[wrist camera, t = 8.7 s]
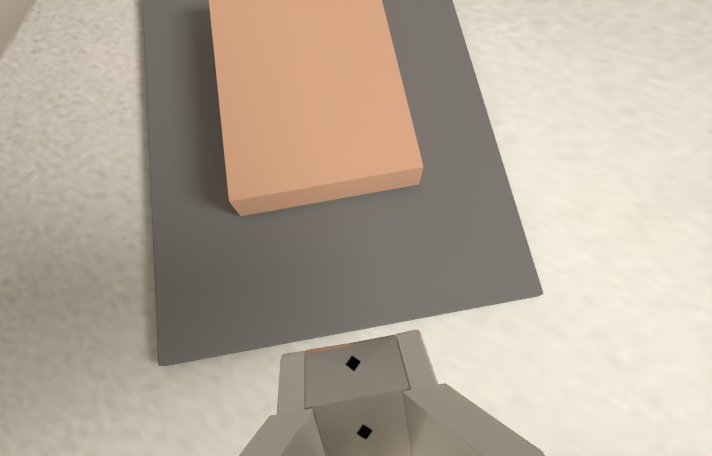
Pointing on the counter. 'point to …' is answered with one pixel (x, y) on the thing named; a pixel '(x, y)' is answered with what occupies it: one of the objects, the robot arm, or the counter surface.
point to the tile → (310, 102)
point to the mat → (324, 206)
